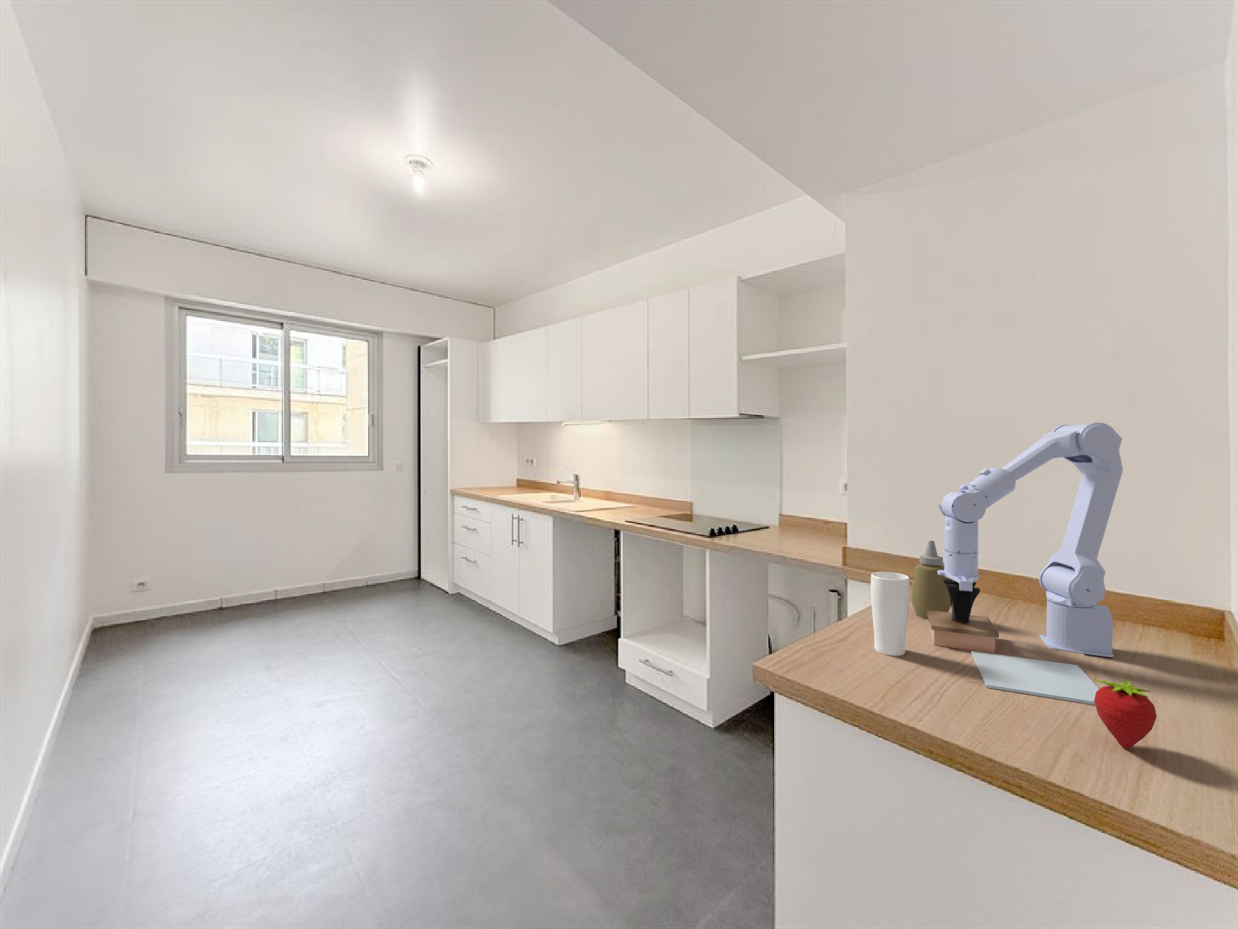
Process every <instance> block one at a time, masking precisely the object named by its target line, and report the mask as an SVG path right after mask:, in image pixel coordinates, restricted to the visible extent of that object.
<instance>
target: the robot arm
mask: <svg viewBox="0 0 1238 929" xmlns="http://www.w3.org/2000/svg"><path fill="white" fill-rule="evenodd" d="M1122 441H1123V438H1122V437H1121V436H1120V435H1119V433H1118V432H1117V431H1116V430H1115V429H1114V428H1113V427H1112V426H1110V425H1109V424H1107V423H1104V422H1098V421H1097V422H1092V423H1091V422H1090V423H1082V424H1067V423H1066V424H1061V425H1058V426H1057V427H1055V428H1054V429H1052V431H1049V432H1046V433H1045V434H1043V435H1042V436H1041V437H1040V439H1039V440H1036V442H1035V443H1034V444H1032V445H1031V446H1029V447H1028V448H1027V449H1026V450H1024V451H1023V452H1021V453H1020V454H1018V456H1016V457H1015V458H1014V459H1012V460H1011V461H1010V462H1008V463H1007V464H1006V465H1005V466H1003V467H1002V468H998V467H990V468H984V469H982V470H980V471H979V476H978V477H976V478H974V479H972V480H971V481H970V482H968V483H967V484H962V485H960V486H959V487H958V488H959V491H951V492H949V493H947V494H946V495H945V496H943V498H942V500H941V503H940V504H938V508H939V511H940V513H941V514H942V515H943V516H944V552H943V553H944V557H943V566H944V570H938V575H943V576H946V577H948V578H949V579H943V581H944V583H945V585H946V587H947V590H948V593H949V597H950V602H951V607H950V609H952V604H953V611H954V616H955V619H956V620H959V621H968V620H969V617H970V615H971V612H972V608H973V606H974V605H973V604H974V602H975V600H976V598H977V597H978V595H979V594H980V592H981V589H980V588H979V587H975V586H976V585H977V582H976V581H978V580H980V574H979V520H981V519H983V517H984V516H985V514H986V510H987V509H988V508H990V507H991V506H993V505H994V504H996V503H998V502H999V501H1000V500H1001V499H1003V498H1005V497H1006V496H1008V495H1009V494H1010V493H1012V492H1014V491H1015V489H1016V484H1017V483H1016V482H1017V481H1018V480H1019V479H1021V478H1023V477H1025V476H1027V475H1028V474H1030V473H1031V472H1033V471H1035V470H1037V469H1038V468H1040V467H1041V466H1043V465H1044V464H1047V463H1048V462H1049V461H1051V460H1054V459H1057V458H1064V459H1065V460H1067V461H1068V462H1070V463H1071V464H1073V466H1075V468H1077V469H1078V471H1079V472H1080V473H1081V478H1080V483H1079V484H1078V486H1079V487H1078V489H1077V493H1076V497H1075V500H1074V503H1073V505H1072V506H1073V507H1072V510H1071V512H1070V513H1071V514H1070V516H1069V521H1068V523H1067V528H1066V531H1065V533H1064V534H1065V535H1064V538H1063V541H1062V544H1061V548H1060V549H1059V550H1058V551H1056V552H1055V553H1054V554H1051V556H1050V557H1049V560H1048V562H1047V564H1046V565H1045V566H1044V567H1043V568H1042V569H1041V570H1040V573H1039V575H1038V582H1039V585H1040V587H1042V589H1043V590H1044V591H1045V597H1046V628H1045V631H1046V634H1039V639H1041V640H1042V641H1043V643H1044V644H1045V645H1046V647H1048V648H1049V650H1052V651H1053V650H1054V651H1059V652H1060V651H1061V652H1068V653H1069V652H1070V653H1077V654H1084V655H1090V656H1099V657H1105V658H1107V657H1108V658H1114V654H1113V636H1114V635H1113V628H1114V626H1113V623H1114V622H1113V617H1112V613H1111V610H1110V608H1109V607H1108V606H1106V605H1101V604H1099V603H1100V602H1101V601H1103V599H1104V598H1105V596H1106V586H1105V579H1104V578H1105V575H1106V569H1104V568H1103V565H1102V564H1101V562H1100V561H1099V560H1098V556H1099V552H1100V551H1101V550H1100V549H1101V546H1102V542H1103V539H1104V535H1105V533H1106V529H1107V525H1108V522H1109V520H1110V516H1111V512H1112V510H1113V509H1112V508H1113V506H1114V502H1115V499H1116V495H1117V492H1118V489H1119V485H1120V483H1121V482H1120V481H1121V478H1122V474H1123V470H1124V469H1123V468H1124V467H1123V463H1122V459H1121V458H1122V457H1121V453H1120V448H1121V445H1122Z"/></svg>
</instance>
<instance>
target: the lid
mask: <svg viewBox="0 0 1238 929" xmlns="http://www.w3.org/2000/svg"><path fill="white" fill-rule="evenodd" d="M927 616H928V619H929V620H928V622H929V627H930V626H931V630H939V631H947V632H955V633H963V634H971V635H979V636H987V637H995V639H999V638H1000V634H999V632H998V630H997V629H996V627H995V625H994V624H993V622H992V621H991V619H990V618H989V617H988V616H983V615H973V614H970V617H969V620H968V621H959V620H956V619H955V616H954V611H953V604H952V608H951V612H939V611H930V610H927Z"/></svg>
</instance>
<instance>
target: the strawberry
mask: <svg viewBox="0 0 1238 929" xmlns="http://www.w3.org/2000/svg"><path fill="white" fill-rule="evenodd" d="M1116 672H1117V673H1118V674H1119V675H1120V676H1122V678H1123V679H1124V680H1125V681H1123V682H1122V681H1121V682H1120V684H1119V683H1116V682H1114V681H1107V680H1101V679H1094V681H1096V682H1099V683H1101V684H1104V686H1102V687H1100V688H1099V690H1097V692H1096V695H1095V699H1094V703H1095V705H1094V707H1095V708H1096V712H1097V715H1098V717H1099V719H1100V720H1101V722H1102V723H1103V724H1104V726H1105V728H1106V729H1107V730H1108V731H1109V733H1110V734H1111V735H1112V736H1113V737H1114V739H1115V741H1117V743H1118V744H1119V745H1120V746H1121V747H1122V748H1123V749H1131V748H1133V747H1134V745H1136V744H1137V743H1139V742H1140V741H1142V740H1143V739H1144V738H1145V737H1146V736H1147V735H1148V734H1149V733H1150V732H1151V731H1152V730H1153V728H1154V725H1155V723H1156V720H1157V716H1158V715H1157V711H1156V707H1155V705H1154V704H1153V702H1152V701H1151V700H1150V699H1149V696H1148V695H1146V694H1144V693H1145V692H1146V693H1151V690H1148V689H1144V688H1139V687H1137V686H1133V685H1131V683H1130V681H1128V679H1127V678H1126V677H1125V676H1124V675H1122V674H1121V673H1120V672H1119V671H1118V670H1117V669H1116ZM1105 685H1106V686H1105Z"/></svg>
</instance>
